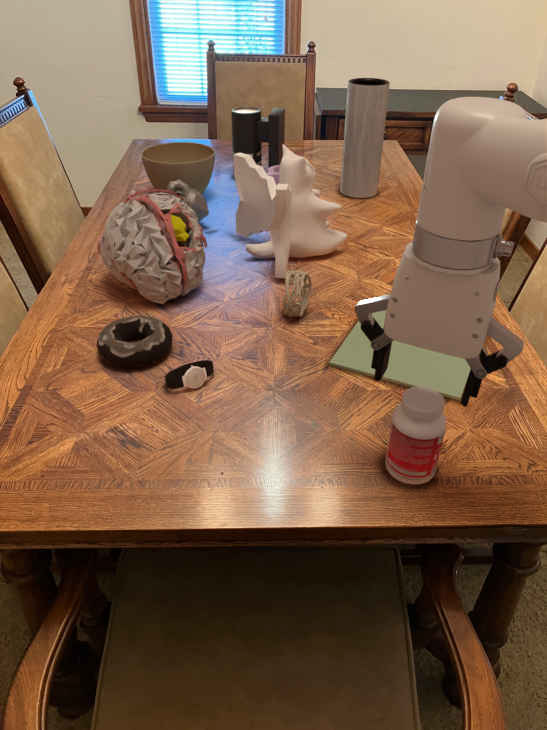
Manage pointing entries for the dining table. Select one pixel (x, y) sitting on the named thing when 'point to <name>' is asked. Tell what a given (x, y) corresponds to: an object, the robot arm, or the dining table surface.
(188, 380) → the watch
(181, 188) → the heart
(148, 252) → the decorative sculpture
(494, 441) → the dining table surface
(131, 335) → the donut
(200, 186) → the flower pot
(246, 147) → the light fixture
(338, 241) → the white spiky figurine
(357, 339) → the mat
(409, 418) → the pill bottle
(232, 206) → the dining table surface
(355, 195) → the planter
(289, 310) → the bracelet
